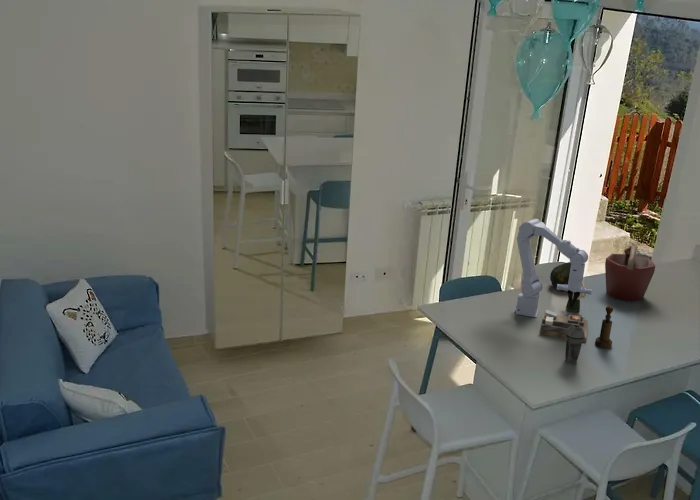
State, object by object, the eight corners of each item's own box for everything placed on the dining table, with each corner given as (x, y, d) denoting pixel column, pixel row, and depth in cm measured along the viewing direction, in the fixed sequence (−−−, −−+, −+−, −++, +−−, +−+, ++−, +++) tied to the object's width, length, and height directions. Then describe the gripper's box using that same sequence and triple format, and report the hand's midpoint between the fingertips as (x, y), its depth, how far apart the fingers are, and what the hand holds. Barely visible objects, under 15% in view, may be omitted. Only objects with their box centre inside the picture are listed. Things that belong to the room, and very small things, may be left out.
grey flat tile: (544, 314, 310) (545, 312, 310) (545, 311, 313) (546, 309, 313) (555, 318, 309) (556, 316, 308) (556, 315, 312) (557, 313, 312)
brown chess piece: (611, 343, 292) (618, 304, 286) (611, 350, 286) (618, 310, 280) (594, 340, 294) (601, 301, 288) (594, 347, 288) (601, 307, 282)
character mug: (587, 312, 323) (591, 286, 319) (578, 315, 319) (582, 289, 314) (567, 304, 331) (571, 279, 327) (558, 307, 327) (562, 282, 322)
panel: (539, 333, 298) (541, 325, 297) (543, 316, 316) (545, 308, 315) (585, 342, 292) (587, 333, 291) (587, 324, 310) (588, 315, 309)
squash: (540, 275, 352) (560, 260, 342) (555, 270, 362) (576, 255, 352) (555, 299, 347) (577, 284, 337) (570, 293, 357) (592, 278, 347)
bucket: (610, 283, 361) (618, 238, 353) (654, 294, 348) (663, 247, 341) (595, 297, 342) (603, 249, 334) (642, 309, 330) (651, 259, 322)
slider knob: (544, 327, 299) (545, 320, 297) (545, 323, 303) (546, 316, 302) (551, 329, 298) (552, 321, 296) (552, 324, 302) (553, 317, 301)
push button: (571, 321, 306) (571, 318, 306) (571, 318, 310) (572, 315, 309) (580, 323, 305) (581, 320, 304) (580, 320, 308) (581, 316, 308)
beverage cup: (558, 357, 278) (565, 311, 272) (576, 357, 279) (583, 311, 272) (565, 365, 271) (572, 319, 265) (583, 365, 272) (591, 319, 265)
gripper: (558, 278, 298) (553, 307, 303) (593, 283, 294) (588, 312, 298) (559, 273, 305) (554, 301, 309) (593, 278, 300) (588, 307, 305)
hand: (571, 306), depth 304 cm, fingers closed
